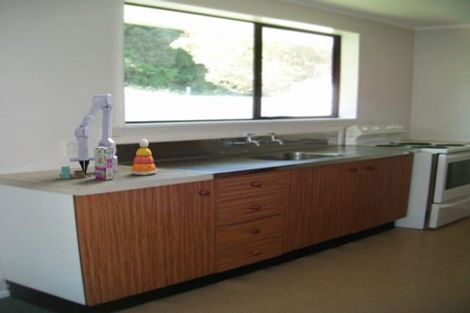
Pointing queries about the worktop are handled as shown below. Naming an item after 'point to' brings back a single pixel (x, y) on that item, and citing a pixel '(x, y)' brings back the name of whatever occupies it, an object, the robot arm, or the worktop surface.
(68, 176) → the block
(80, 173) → the channel
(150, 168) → the stacking toy
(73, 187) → the worktop surface
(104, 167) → the candy bar box
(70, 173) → the rod
